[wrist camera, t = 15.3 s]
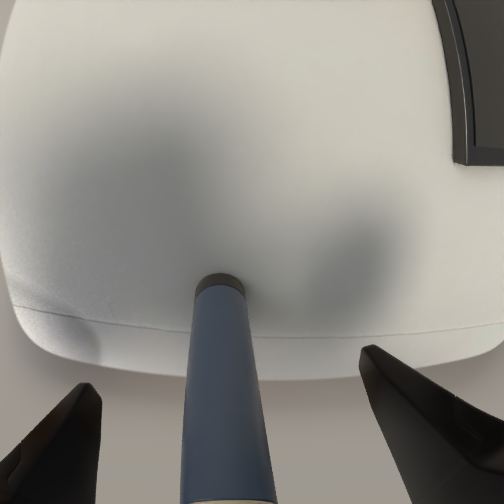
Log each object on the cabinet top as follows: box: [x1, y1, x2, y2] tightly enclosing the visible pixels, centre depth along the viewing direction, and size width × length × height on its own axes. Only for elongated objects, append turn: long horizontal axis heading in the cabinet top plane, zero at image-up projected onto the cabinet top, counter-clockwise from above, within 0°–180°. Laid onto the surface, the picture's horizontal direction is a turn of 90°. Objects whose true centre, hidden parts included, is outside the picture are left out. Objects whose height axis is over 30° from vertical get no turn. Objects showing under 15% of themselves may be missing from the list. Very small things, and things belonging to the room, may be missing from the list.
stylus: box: [180, 273, 278, 504], centre depth 8 cm, size 2×2×10 cm
